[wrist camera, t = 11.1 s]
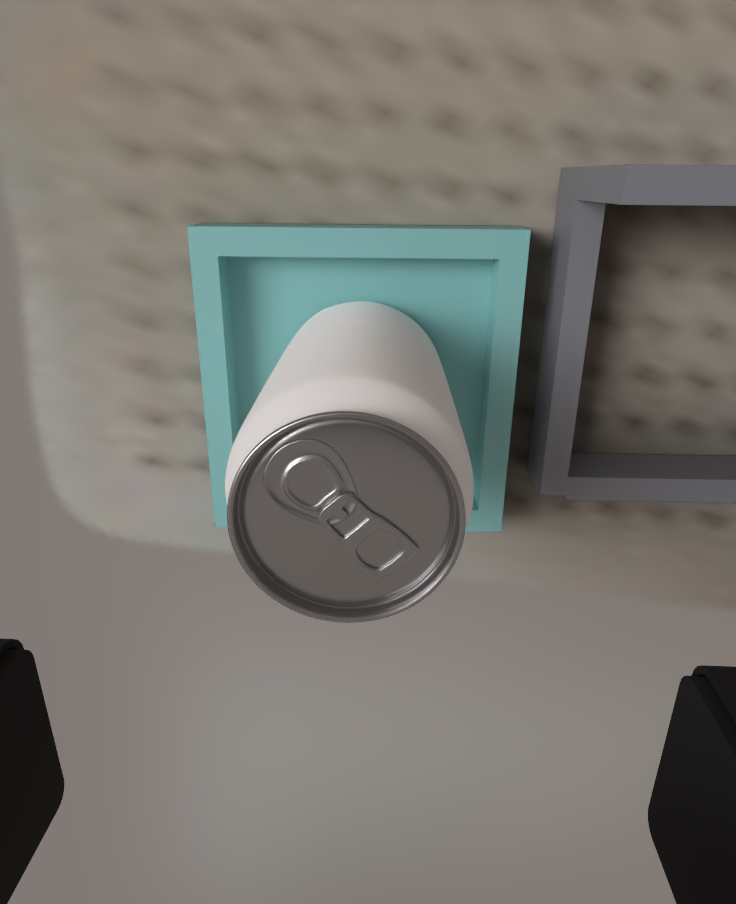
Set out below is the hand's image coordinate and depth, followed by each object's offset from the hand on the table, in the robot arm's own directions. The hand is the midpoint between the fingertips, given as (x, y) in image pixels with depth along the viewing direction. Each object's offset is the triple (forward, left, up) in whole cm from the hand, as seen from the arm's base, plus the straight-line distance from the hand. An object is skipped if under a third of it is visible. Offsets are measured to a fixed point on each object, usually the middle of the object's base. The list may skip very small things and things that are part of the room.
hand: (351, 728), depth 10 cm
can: (0, 0, -18) cm, 18 cm away
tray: (+1, 0, -19) cm, 19 cm away
